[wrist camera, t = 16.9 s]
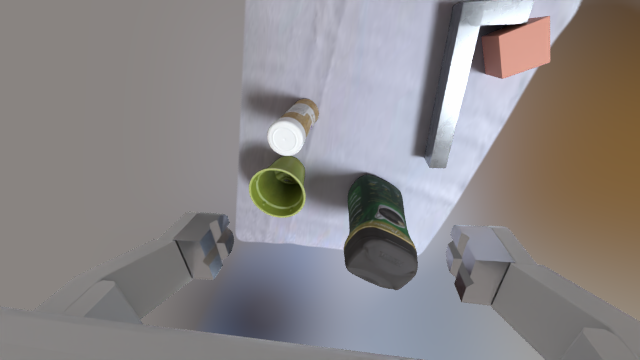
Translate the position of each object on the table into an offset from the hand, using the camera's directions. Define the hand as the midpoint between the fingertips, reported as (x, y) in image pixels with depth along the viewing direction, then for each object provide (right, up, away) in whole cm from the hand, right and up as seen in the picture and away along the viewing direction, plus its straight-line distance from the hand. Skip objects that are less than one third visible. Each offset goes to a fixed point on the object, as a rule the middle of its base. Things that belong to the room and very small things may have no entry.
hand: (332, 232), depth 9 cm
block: (+24, +20, +25) cm, 40 cm away
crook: (+21, +15, +28) cm, 38 cm away
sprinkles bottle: (-3, +13, +33) cm, 35 cm away
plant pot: (-6, +4, +39) cm, 39 cm away
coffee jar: (+10, -1, +39) cm, 40 cm away
